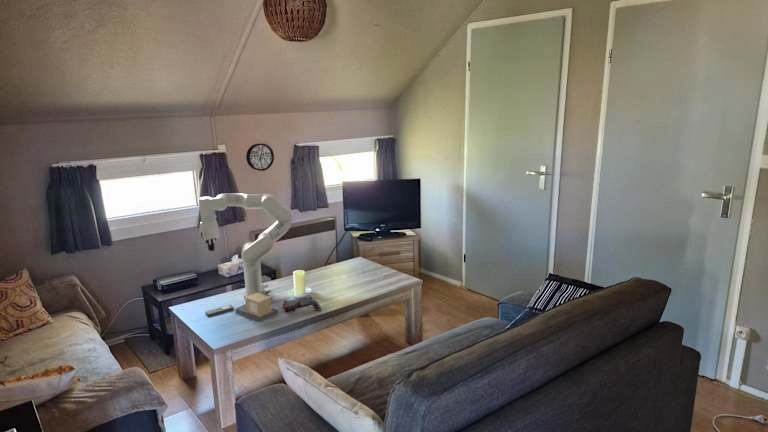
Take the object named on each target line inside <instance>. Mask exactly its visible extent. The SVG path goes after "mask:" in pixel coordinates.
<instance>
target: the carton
mask: <svg viewBox="0 0 768 432" xmlns="http://www.w3.org/2000/svg"><path fill="white" fill-rule="evenodd" d="M244 302H245V303H244V304H246V312H248V313H251V314H253V315H256V316H259V317H261V316H263V315H266V314H268V313H270V312H272V308H273V307H272V297H271V296H268V295H266V294H265V295H263V294H260V293H255V294H252V295H250V296H247V297H244Z"/></svg>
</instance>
